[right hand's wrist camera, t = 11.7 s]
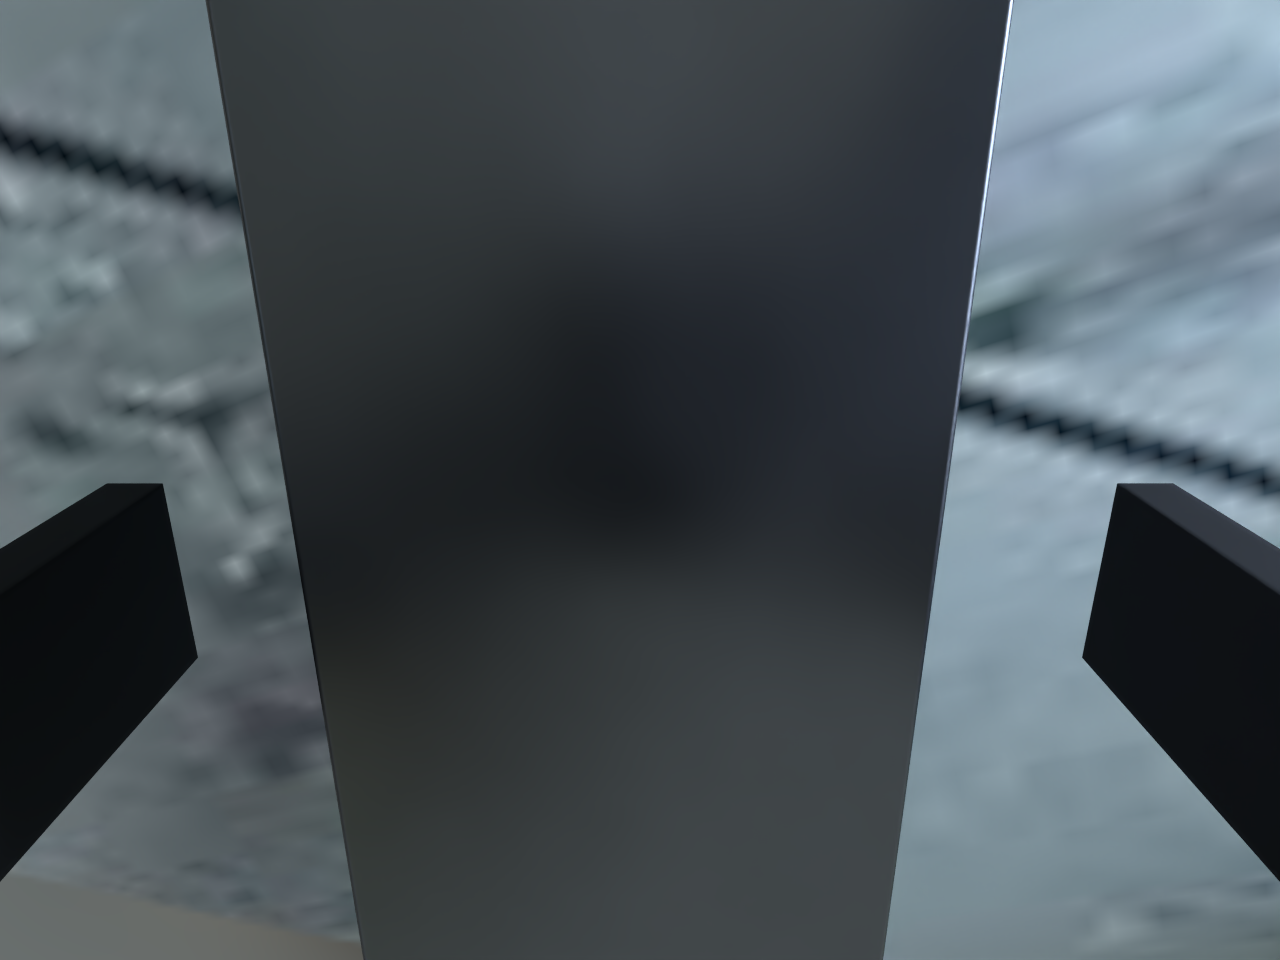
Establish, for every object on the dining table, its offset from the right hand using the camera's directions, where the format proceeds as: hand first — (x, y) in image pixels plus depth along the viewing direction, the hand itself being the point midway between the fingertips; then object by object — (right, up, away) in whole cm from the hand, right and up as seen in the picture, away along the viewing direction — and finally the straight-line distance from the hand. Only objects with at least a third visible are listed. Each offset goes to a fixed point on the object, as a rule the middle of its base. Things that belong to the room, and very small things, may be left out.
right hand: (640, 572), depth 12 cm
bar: (0, +11, -1) cm, 11 cm away
